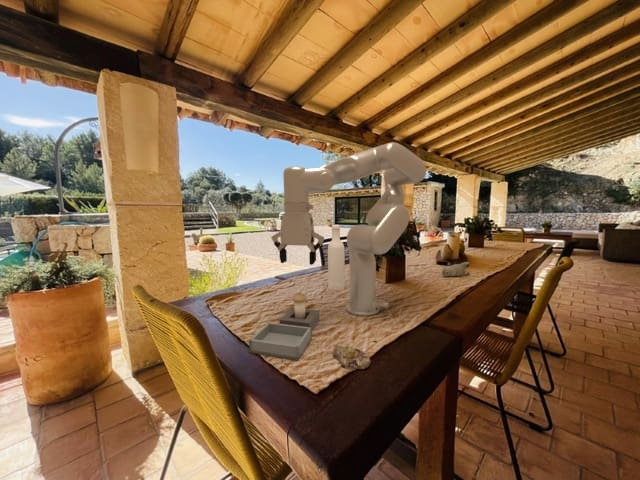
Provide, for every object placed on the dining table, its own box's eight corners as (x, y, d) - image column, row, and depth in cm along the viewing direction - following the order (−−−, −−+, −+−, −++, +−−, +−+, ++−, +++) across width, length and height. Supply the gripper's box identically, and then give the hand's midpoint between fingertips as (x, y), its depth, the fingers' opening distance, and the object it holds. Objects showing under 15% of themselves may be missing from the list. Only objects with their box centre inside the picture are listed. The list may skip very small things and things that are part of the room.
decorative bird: (439, 276, 139) (439, 262, 138) (463, 273, 143) (464, 260, 142) (446, 279, 134) (447, 265, 133) (471, 276, 138) (472, 262, 137)
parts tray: (312, 338, 75) (311, 327, 75) (298, 360, 65) (297, 347, 64) (268, 333, 79) (268, 322, 79) (249, 352, 69) (248, 340, 68)
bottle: (324, 289, 120) (323, 225, 116) (333, 284, 127) (332, 224, 123) (340, 292, 116) (339, 225, 112) (347, 287, 123) (347, 224, 119)
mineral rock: (378, 351, 65) (362, 356, 59) (376, 369, 64) (360, 376, 58) (343, 339, 72) (326, 343, 66) (341, 355, 71) (323, 360, 65)
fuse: (308, 323, 86) (307, 294, 84) (304, 328, 82) (303, 298, 81) (296, 321, 87) (296, 293, 86) (292, 327, 83) (291, 297, 82)
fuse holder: (319, 320, 88) (319, 310, 87) (309, 334, 78) (309, 323, 78) (292, 317, 91) (291, 307, 90) (279, 330, 81) (279, 319, 81)
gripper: (326, 208, 81) (327, 262, 83) (276, 208, 86) (278, 259, 88) (320, 208, 73) (320, 267, 76) (265, 209, 78) (267, 264, 80)
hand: (297, 263), depth 82 cm, fingers open, 9 cm apart
